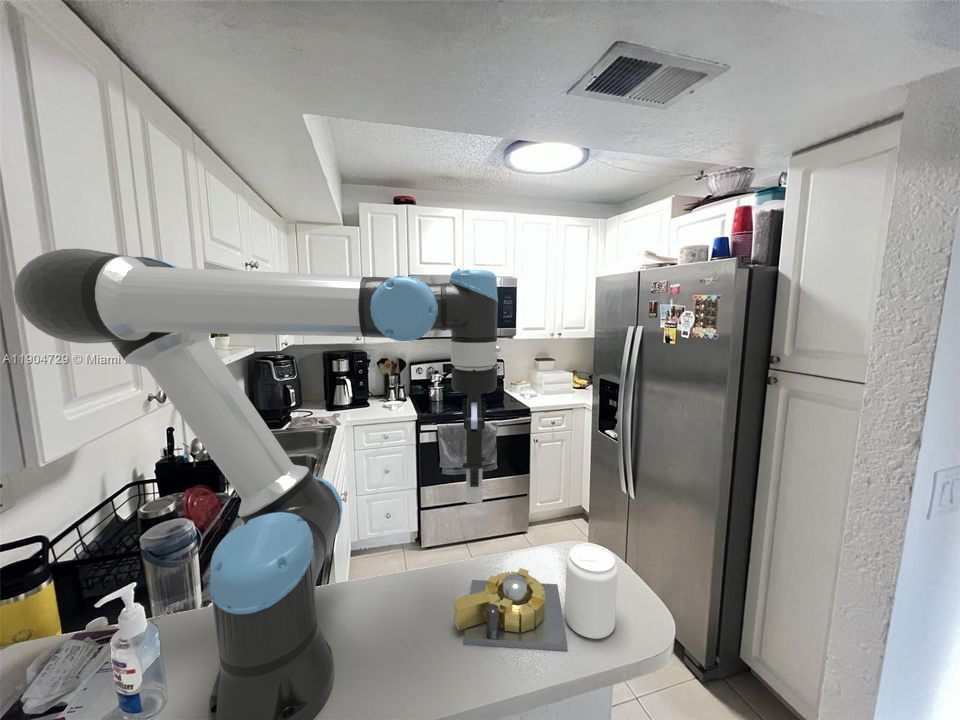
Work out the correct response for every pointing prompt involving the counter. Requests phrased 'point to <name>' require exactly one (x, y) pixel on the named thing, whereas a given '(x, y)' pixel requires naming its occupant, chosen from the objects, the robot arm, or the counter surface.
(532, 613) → the segmented ring with handle
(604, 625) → the beverage can
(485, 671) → the counter surface
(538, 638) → the plate
